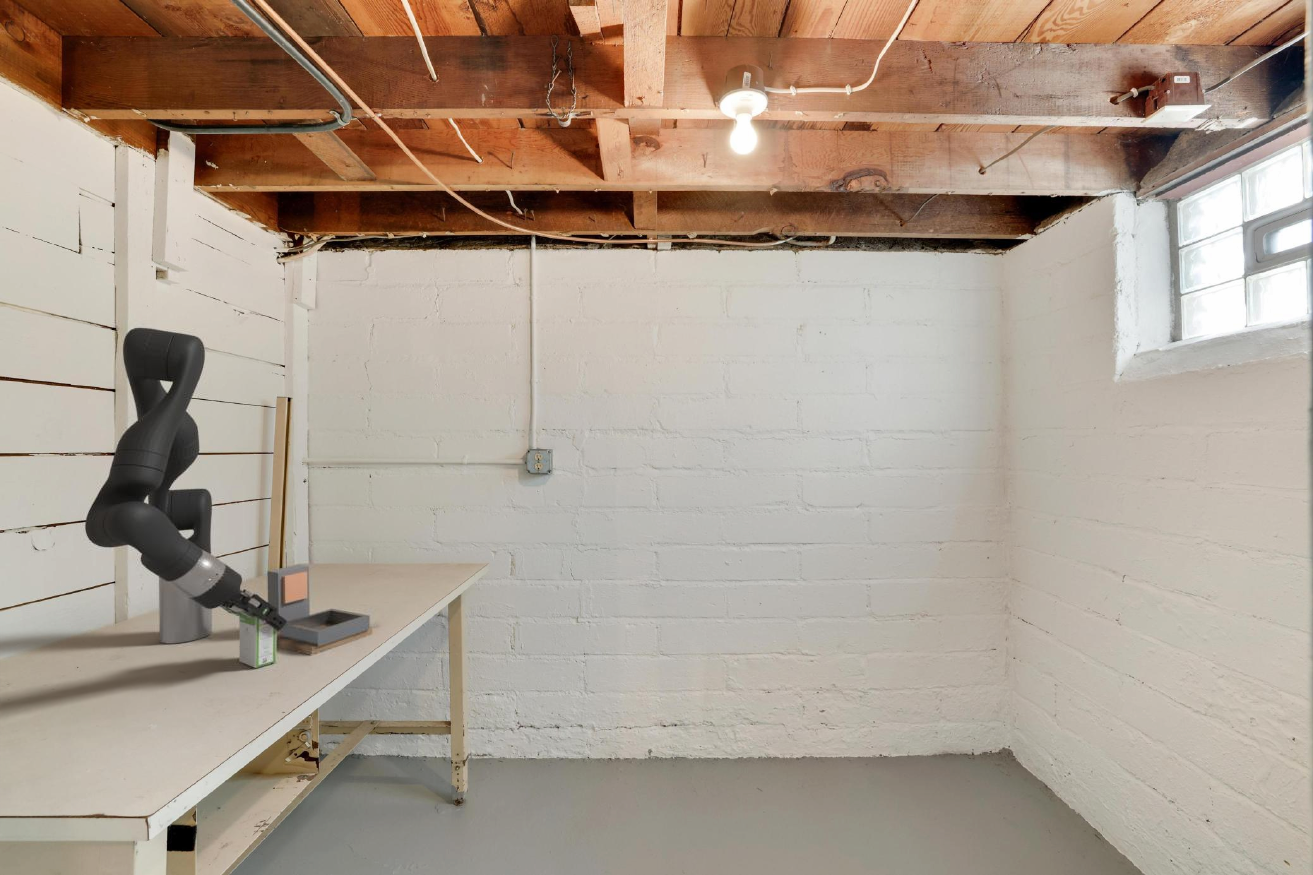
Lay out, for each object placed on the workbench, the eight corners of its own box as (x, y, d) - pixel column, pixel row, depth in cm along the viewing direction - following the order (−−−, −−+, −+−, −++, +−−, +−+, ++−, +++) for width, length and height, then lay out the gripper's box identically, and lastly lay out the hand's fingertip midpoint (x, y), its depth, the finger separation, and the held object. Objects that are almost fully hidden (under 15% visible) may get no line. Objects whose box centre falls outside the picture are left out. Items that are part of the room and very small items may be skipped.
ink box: (277, 662, 115) (277, 594, 115) (255, 669, 112) (254, 599, 112) (261, 655, 119) (260, 590, 119) (238, 662, 115) (238, 594, 115)
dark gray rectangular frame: (263, 633, 128) (262, 620, 128) (316, 618, 139) (315, 605, 139) (318, 646, 119) (317, 631, 119) (369, 628, 130) (369, 615, 130)
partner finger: (268, 628, 131) (267, 571, 131) (299, 619, 138) (298, 564, 138) (281, 631, 129) (280, 573, 129) (311, 622, 135) (311, 566, 135)
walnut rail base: (249, 639, 129) (249, 632, 129) (310, 621, 141) (310, 615, 141) (311, 655, 119) (311, 647, 119) (372, 633, 131) (372, 627, 131)
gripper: (242, 564, 106) (306, 610, 117) (199, 558, 113) (263, 602, 123) (209, 601, 101) (279, 646, 112) (167, 592, 108) (236, 635, 118)
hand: (271, 623), depth 117 cm, fingers closed on ink box, 7 cm apart
